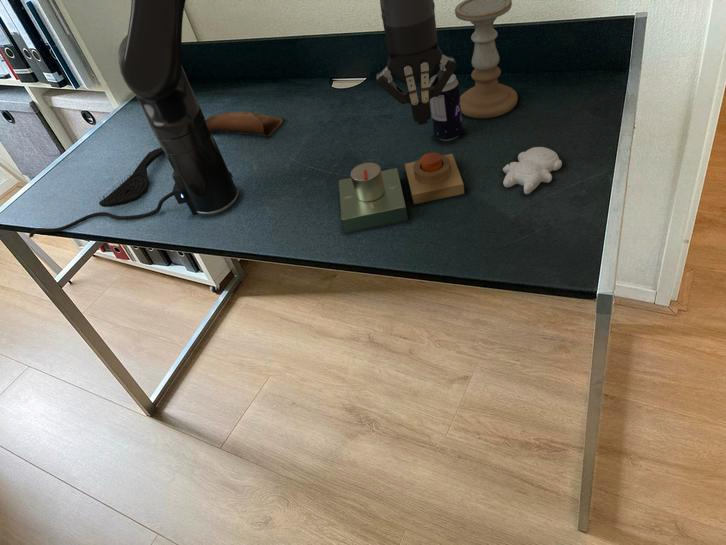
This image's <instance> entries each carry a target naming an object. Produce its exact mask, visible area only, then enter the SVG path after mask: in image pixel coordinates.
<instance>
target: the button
mask: <svg viewBox="0 0 726 545" xmlns="http://www.w3.org/2000/svg"><path fill="white" fill-rule="evenodd" d="M441 155H442V154H440V153H438V152H435V151H433V152H427V153H425V154H423V155H422V156H421V157H420V158H421V166H422V170H423V171H425V172H433V171H437V170H439V169H441V167H442V160H441Z"/></svg>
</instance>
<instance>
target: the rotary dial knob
mask: <svg viewBox="0 0 726 545" xmlns="http://www.w3.org/2000/svg"><path fill="white" fill-rule="evenodd" d="M381 171H382V169H381V166H380V165H379V164H377V163H375V162H363V163H360V164H358V165H356V166H355V167H353V168H352V169H351V171H350V175H349V176H350V178H351V179H352V183H353V187H354V190H355V194H356V197H357V199H359V200H361V201H365V202H368V201H374V200H376V199H378V198H380V197H381V196H382V195H383V194H384V192H385V188H384V183H383V178H382V174H381Z"/></svg>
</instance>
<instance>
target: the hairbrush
mask: <svg viewBox="0 0 726 545" xmlns="http://www.w3.org/2000/svg"><path fill="white" fill-rule="evenodd" d="M164 154H165V153H164V151H163V149H162V147H161V146H160V147H158V148H155V149H153V150H152V151H149V152H148V153H147V154H146V155H145V156H144V157H143V159H142V160H141V161H140V163H139V164H138V165H137V166H136V168H135V170H132V171H130V172H129V174H130V175H128V174H125V176H126V177H125V176H124V179H125V180H124V181H123V179H121V181H120V180H119V182H118V183H119V185H118V183H117V184H116V185H117V187H116V186H114V187H115V189H114V187H112V189H110V190H108V191H107V193H108V194H105V195H103V196H102V198H99V200H100V201H99V202H98V204H99V206H100V207H102V208H112V207H117V206H118V207H119V206H123V205H127V204H130V203H133V202H136V201H139V200H140V199H141V198H142V197H144V195H145V194H146V193H148V191H149V186H150V181H149V177H148V167H149V166H150V165H151V164H152V163H153V162H154V161H155V160H157V159H158V158H160V157H162V156H163V155H164ZM131 173H132V174H131ZM121 182H122V183H121Z"/></svg>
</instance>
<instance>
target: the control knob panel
mask: <svg viewBox="0 0 726 545" xmlns="http://www.w3.org/2000/svg"><path fill="white" fill-rule="evenodd" d="M381 174H382V178H383V183H384V188H385V192H384V194H383V195H382V196H381V197H380V198H378V199H376V200H374V201H368V202H365V201H361V200H359V199H357V197H356V194H355V190H354V187H353V183H352V179H351V177H348V178H343V179H339V180H338V191H339V192H338V193H339V204H340V206H339V207H340V219H341V224H342V226H343V230H344V233H345V234H348V233H352V232H353V233H354V232H357V231H362V230H368V229H371V228H377V227H382V226H386V225H390V224H391V225H392V224H396V223H400V222H405V221H408V220H409V217H408V211H407V206H406V200H405V197H404V192H403V188H402V183H401V179H400V178H401V177H400V174H399V170H398V167H394V168H389V169H386V170H381Z"/></svg>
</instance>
